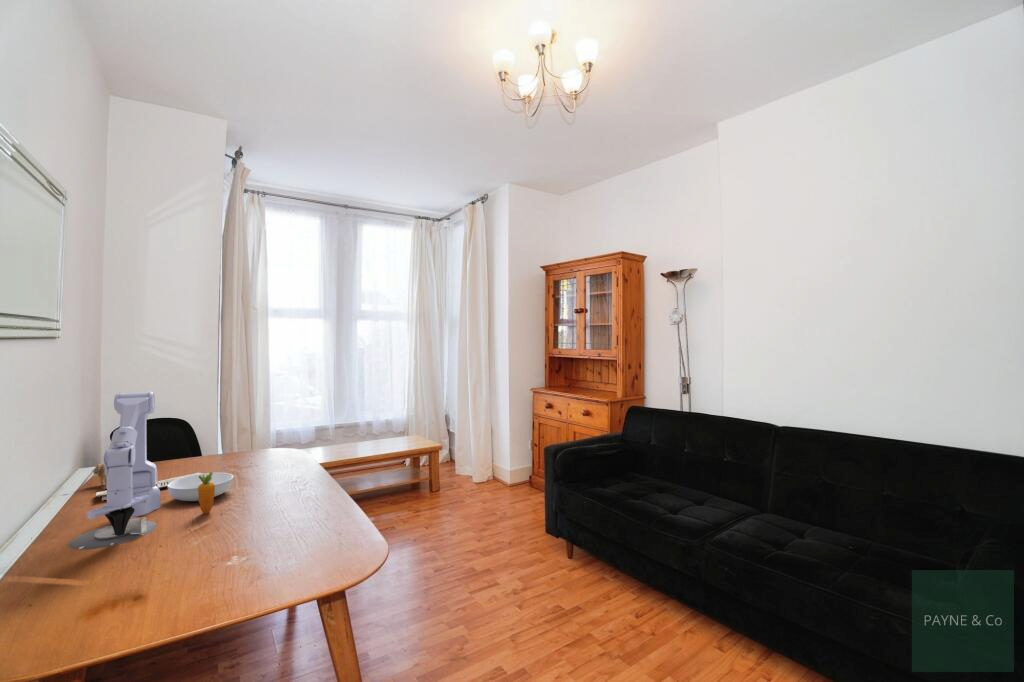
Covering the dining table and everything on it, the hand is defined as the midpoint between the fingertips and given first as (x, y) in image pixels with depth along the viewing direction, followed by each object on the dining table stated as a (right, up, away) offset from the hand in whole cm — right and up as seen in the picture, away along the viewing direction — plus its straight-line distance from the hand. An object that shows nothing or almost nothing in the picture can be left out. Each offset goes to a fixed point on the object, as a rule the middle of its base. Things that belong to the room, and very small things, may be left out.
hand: (119, 534), depth 128 cm
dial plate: (-7, -3, +6) cm, 9 cm away
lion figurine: (-55, -4, +54) cm, 77 cm away
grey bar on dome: (-4, -2, +5) cm, 7 cm away
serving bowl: (-5, -4, +41) cm, 41 cm away
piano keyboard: (-33, -5, +51) cm, 61 cm away
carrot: (+10, -4, +22) cm, 24 cm away
